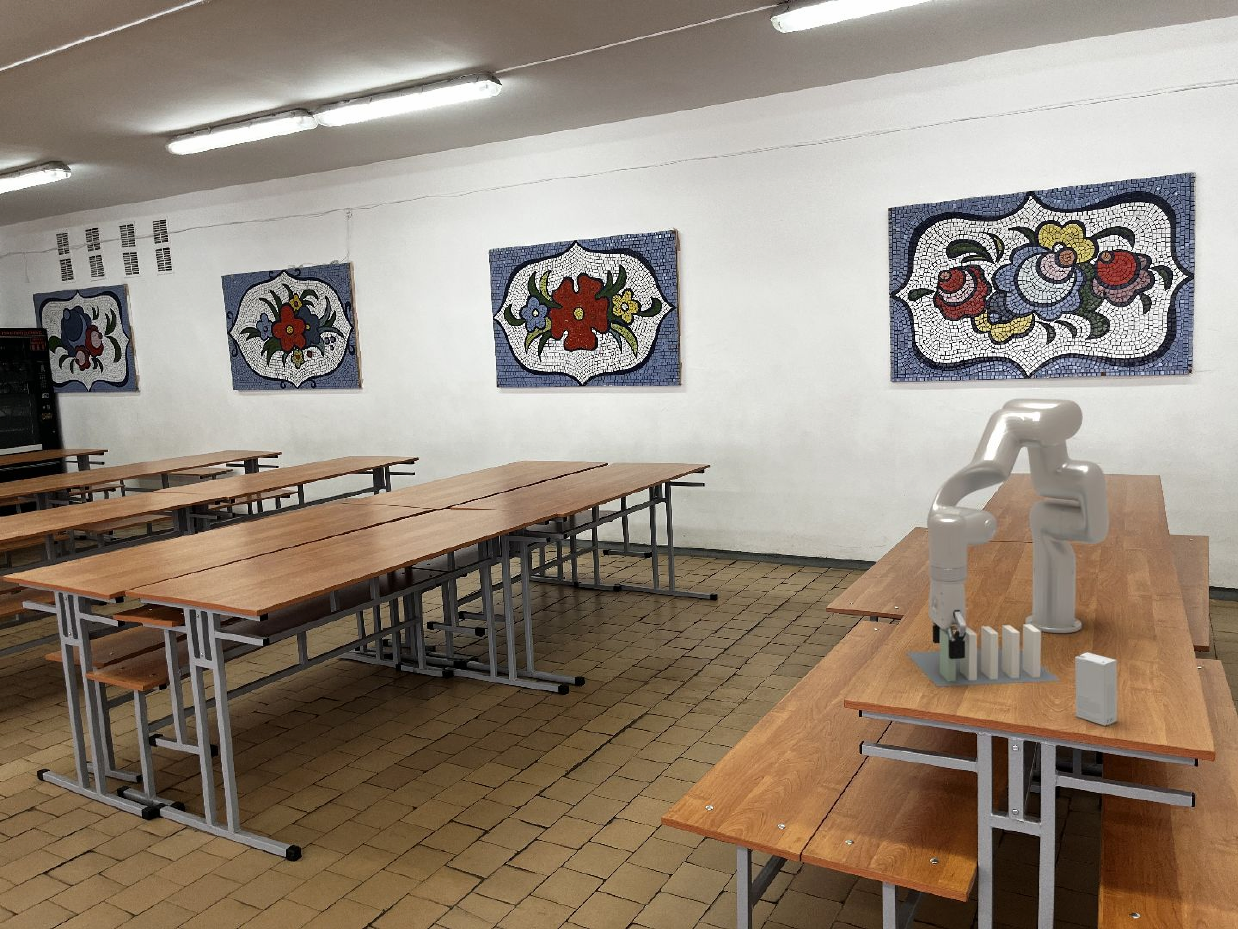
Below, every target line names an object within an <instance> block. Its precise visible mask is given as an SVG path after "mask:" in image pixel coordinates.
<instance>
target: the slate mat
mask: <svg viewBox="0 0 1238 929" xmlns="http://www.w3.org/2000/svg"><path fill="white" fill-rule="evenodd" d="M905 654H906V655H907V656H908V657H909V658H910V659H911V660H912V662H913V663H914V664H915V665H916V666H917V667H918V668H919V669H920V670H921V671H922V672H923V673H924V675H925V676H926V677H927V678H928V679H929V681H931V682H932V683H933V684H934V685H935V686H936V688H937V687H939V688H941V687H961V686H978V685H980V686H981V685H999V684H1000V685H1002V684H1005V685H1006V684H1020V683H1021V684H1022V683H1023V684H1025V683H1044V682H1047V683H1048V682H1061V681H1062V680H1061V679H1059V678H1058V677H1057V676H1056V675H1054V674H1053V673H1052V672H1050V671H1049V670H1048V669H1046V668H1045V667H1044V666H1042V664H1040V677H1032V676H1030V675H1029V674H1028V673H1027V672H1026V671H1024V670H1023V669H1022V666H1023V649H1021V648H1019V678H1011V677H1009V676H1008V675H1007V674H1006V673H1005V672H1004V671H1002V647H998V679H989V678H988V677H987V676H986V675H985V674H984V673H983V672H982V671H981V648H977V680H968V679H967V678H966V677H965V676H964V675H963V674H962V673H961V672H960V659H956V681H947V680H946V679H945V678H944V677H943V676H942V675H941V674H940V650H933V651H931V650H930V651H912V652H911V651H910V652H905Z"/></svg>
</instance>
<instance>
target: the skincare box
mask: <svg viewBox="0 0 1238 929" xmlns="http://www.w3.org/2000/svg"><path fill="white" fill-rule="evenodd" d="M1074 661H1075V662H1074V663H1075V664H1074V665H1075V666H1074V667H1075V668H1074V670H1075V671H1074V673H1075V716H1076V717H1077V718H1079V719H1083V720H1086V721H1089V722H1092V723H1094V724H1095V723H1096V724H1099V725H1101V726H1105V727H1106V725H1107V726H1110V725H1112V724H1113V723H1117V721H1118V660H1117V659H1114V658H1109V657H1107V656H1103V655H1098V654H1094V653H1091V652H1084V653H1082V654H1080V655H1077V656H1075V657H1074Z"/></svg>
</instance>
